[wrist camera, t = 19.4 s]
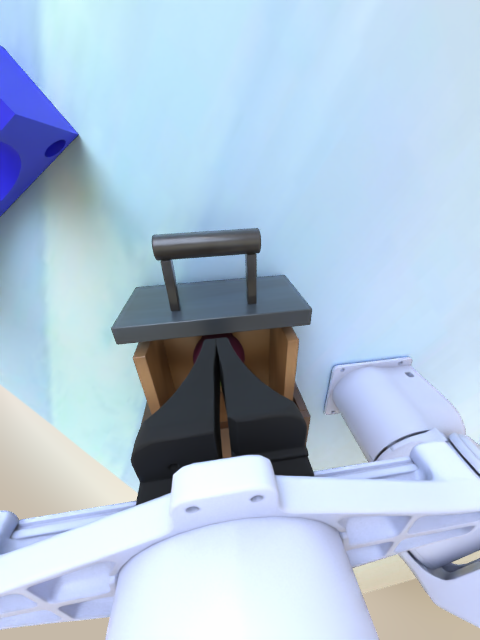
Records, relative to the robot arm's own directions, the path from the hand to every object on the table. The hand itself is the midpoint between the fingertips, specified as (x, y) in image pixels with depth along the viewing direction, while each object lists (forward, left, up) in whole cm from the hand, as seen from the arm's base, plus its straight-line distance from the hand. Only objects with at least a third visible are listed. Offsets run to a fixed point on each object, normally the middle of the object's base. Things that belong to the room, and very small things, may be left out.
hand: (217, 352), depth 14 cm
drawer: (0, +2, -8) cm, 8 cm away
